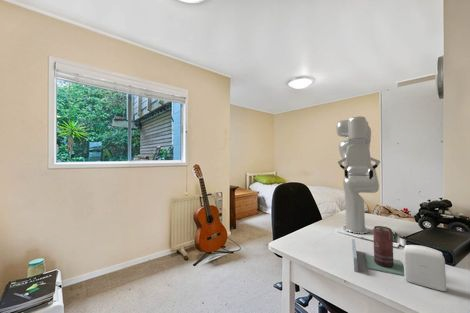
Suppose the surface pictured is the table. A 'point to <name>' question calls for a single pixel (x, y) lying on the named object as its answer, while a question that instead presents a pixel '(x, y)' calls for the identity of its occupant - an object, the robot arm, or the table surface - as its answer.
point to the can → (383, 246)
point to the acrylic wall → (354, 255)
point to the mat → (395, 269)
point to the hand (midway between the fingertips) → (358, 178)
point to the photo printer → (424, 267)
